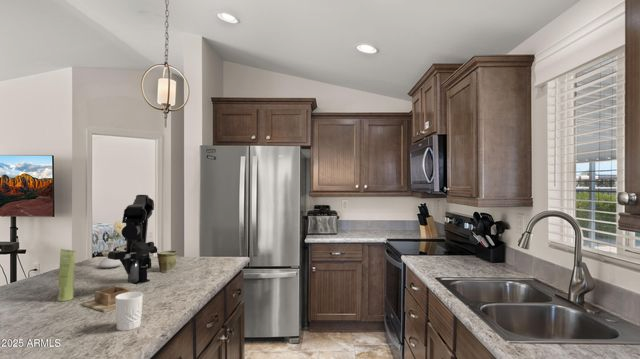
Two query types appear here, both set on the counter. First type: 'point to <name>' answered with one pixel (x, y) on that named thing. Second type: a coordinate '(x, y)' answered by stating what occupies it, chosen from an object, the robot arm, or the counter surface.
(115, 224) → the flower in vase
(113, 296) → the well
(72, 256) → the tube
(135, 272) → the peg
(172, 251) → the ceramic cup
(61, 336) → the counter surface
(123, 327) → the white cup
